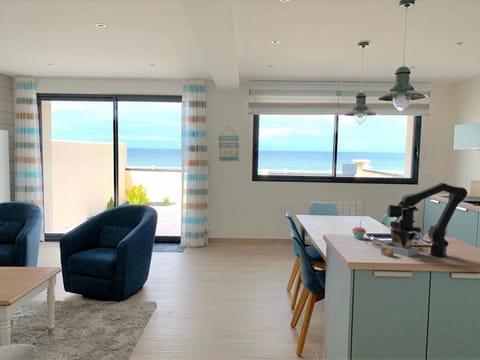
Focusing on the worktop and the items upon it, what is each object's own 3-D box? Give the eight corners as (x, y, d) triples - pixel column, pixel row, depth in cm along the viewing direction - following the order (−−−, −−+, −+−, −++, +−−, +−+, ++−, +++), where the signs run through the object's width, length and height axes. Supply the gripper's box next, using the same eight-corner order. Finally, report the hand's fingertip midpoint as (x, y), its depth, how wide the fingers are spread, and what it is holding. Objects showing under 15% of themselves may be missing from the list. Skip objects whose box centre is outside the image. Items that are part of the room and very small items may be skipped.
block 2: (411, 248, 184) (412, 240, 184) (407, 249, 182) (407, 241, 181) (404, 246, 188) (404, 238, 188) (399, 247, 186) (400, 239, 185)
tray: (418, 253, 184) (419, 248, 184) (407, 256, 178) (407, 251, 178) (392, 246, 198) (392, 241, 197) (380, 249, 192) (381, 243, 192)
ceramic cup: (411, 248, 196) (412, 231, 195) (393, 247, 196) (395, 230, 195) (400, 242, 209) (401, 226, 208) (384, 241, 209) (385, 226, 208)
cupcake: (354, 235, 222) (355, 218, 222) (367, 238, 217) (368, 220, 216) (349, 238, 216) (350, 219, 215) (362, 240, 210) (364, 221, 210)
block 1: (393, 255, 180) (394, 247, 179) (388, 257, 177) (388, 248, 177) (385, 253, 183) (386, 245, 183) (380, 254, 181) (381, 246, 181)
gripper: (403, 214, 195) (401, 240, 197) (384, 216, 185) (382, 244, 187) (422, 217, 186) (420, 245, 187) (403, 220, 176) (401, 249, 177)
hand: (405, 245), depth 185 cm, fingers closed on block 2, 4 cm apart
